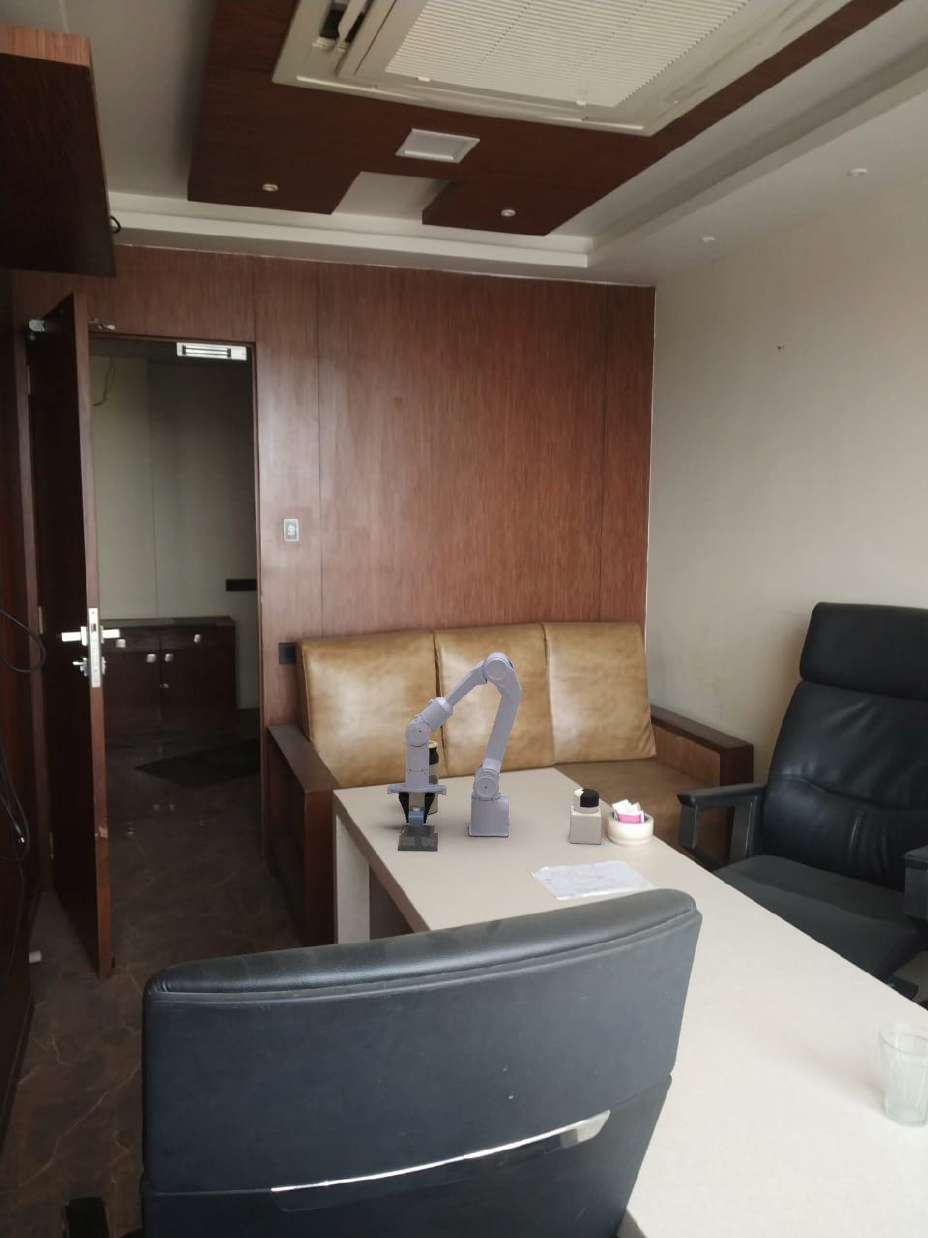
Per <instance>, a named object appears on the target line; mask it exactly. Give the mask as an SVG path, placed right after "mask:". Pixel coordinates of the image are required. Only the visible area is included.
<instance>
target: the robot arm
mask: <svg viewBox="0 0 928 1238" xmlns="http://www.w3.org/2000/svg"><path fill="white" fill-rule="evenodd" d="M488 682H490V683H491V684H493V685H494V686H495V687H496V689H497V690H498V692H499V694H500V696H501V697H500V702H499V703H498V704H499V705H498V708H497V712H496V715H495V719H494V720H493V725H492V728H491V732H490V734H489V738H488V743H487V744H486V745H487V746H486V748H485V752H484V754H483V758H482V761H481V764H480V765H479V766H478V768H477V767H476V770H474V776H473V778H474V779H473V783H472V790H473V791H472V792H471V795H470V797H471V798H470V801H471V802H470V807H471V808H470V822H469V823H468V835H469V836H471V837H472V836H474V837H509V827H510V818H509V817H510V800H509V799H510V798H509V796H507V795H502V793H501V792H500V784H499V782H500V772H501V768H502V764H503V759H504V757H505V752H506V749H507V745H508V744H509V743H508V742H509V739H510V736H511V732H512V730H513V729H512V728H513V725H514V723H515V720H516V716H517V712H518V709H519V705H520V702H521V699H522V694H523V690H522V687H521V684H520V681H519V678H518V675H517V672H516V669H515V665H514V664H513V662H512V661H511V659H510V658H509V657H508V655H507V654H505V653H504V652H501V651H493V652H491V653H489V654H488V655H487V656H486V657H485V660H484V659H482V660H481V661H479V662H478V663H476V665H474V666H473V667H472V668H471V669H469V671H468V672H467V673H466V674H465V675H464V676H463V677H462V678H461V679H460V680H459V681H458V682H457V683H456V685H454V686H453V687H452V689H450V691H449V692H448V693H447V694H446V695H445V696H441V697H439V696H436V697H435V698H434V699H433V698H431V699H430V700H429V701H428V702H427V704H428V705H427V706H426V707H425V708H424V709H423V710H422V711H421V712H420V713H417V714H415V715H414V718H415V719H413V720H411V721H410V722H409V723H408V725H407V727H406V729H405V734H404V735H405V740H406V743H405V744H406V746H405V747H406V750H405V782H403V783H393V784H392V783H391V784H390V783H388V784H387V787H386V788H387V789H386V794H387V795H392V794H398V798H397V799H398V801H399V802H400V804H401V807H402V810H403V813H404V815H405V816H404V817H405V823H406V824H409V819H408V817H409V794H425V798H424V825H426V824H427V821H428V820H427V819H428V816H429V814H428V813H429V810H430V807H431V805H432V803H433V801H434V799H435V794H438V795H442V796H447V789H448V788H447V787H448V786H447V785H445V784H438V785H436V784H429V749H428V743H429V739H430V735H431V734H432V733H435V732H436V731H437V730H438V729H440V727H441V726H442V725H443V724H445V723H446V722H447V721H448V720H449V719H450V718H451V717H452V716H453V714H454V706H456V704H458V703H459V702H460V701H461V700H462V699H463V698H464V697H465V696H466V695H468V693H470V692H471V691H472V690H473V689H474V688H475V687H477V686H481V685H482V686H483V685H488Z"/></svg>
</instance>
